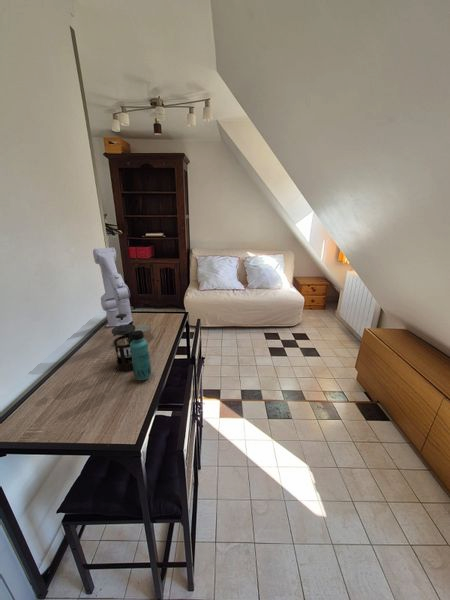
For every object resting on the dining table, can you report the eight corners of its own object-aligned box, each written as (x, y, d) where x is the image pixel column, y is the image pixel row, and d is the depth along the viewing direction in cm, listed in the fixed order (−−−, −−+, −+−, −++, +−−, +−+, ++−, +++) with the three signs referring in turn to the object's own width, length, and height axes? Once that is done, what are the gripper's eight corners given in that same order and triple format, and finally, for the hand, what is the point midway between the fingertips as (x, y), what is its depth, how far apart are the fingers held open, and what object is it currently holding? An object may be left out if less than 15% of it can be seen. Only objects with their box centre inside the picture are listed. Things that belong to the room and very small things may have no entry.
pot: (135, 334, 131) (133, 323, 129) (153, 332, 132) (151, 322, 130) (130, 345, 120) (129, 334, 118) (150, 343, 121) (148, 332, 119)
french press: (135, 373, 100) (127, 320, 92) (112, 372, 100) (102, 320, 92) (145, 356, 111) (138, 308, 103) (124, 356, 111) (116, 308, 103)
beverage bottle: (131, 380, 95) (123, 334, 88) (143, 371, 101) (137, 326, 94) (143, 385, 92) (136, 338, 86) (156, 375, 98) (150, 330, 91)
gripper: (119, 306, 126) (123, 330, 131) (111, 317, 113) (116, 344, 118) (134, 305, 127) (137, 329, 132) (127, 316, 114) (131, 342, 118)
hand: (128, 336), depth 125 cm, fingers closed, pressing on pot
